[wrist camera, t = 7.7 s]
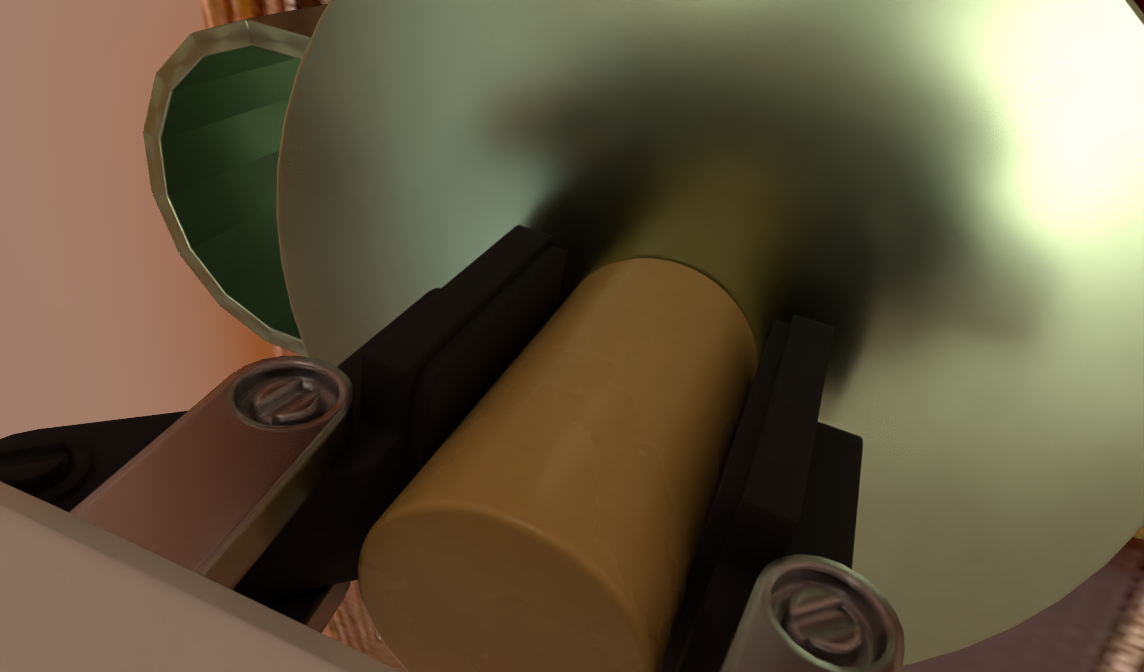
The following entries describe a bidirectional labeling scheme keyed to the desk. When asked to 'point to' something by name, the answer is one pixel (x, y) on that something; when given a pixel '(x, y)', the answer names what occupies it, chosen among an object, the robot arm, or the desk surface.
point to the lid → (736, 294)
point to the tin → (229, 161)
